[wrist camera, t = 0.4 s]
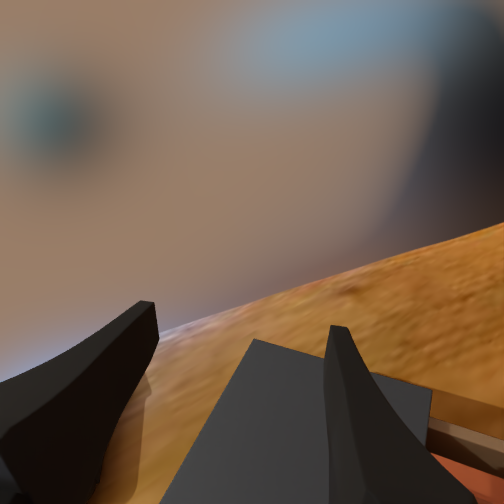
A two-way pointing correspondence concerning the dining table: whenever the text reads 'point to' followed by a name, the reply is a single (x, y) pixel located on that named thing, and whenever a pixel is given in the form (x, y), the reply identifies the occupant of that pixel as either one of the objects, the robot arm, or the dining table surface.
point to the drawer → (466, 447)
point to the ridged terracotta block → (476, 481)
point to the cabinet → (276, 433)
